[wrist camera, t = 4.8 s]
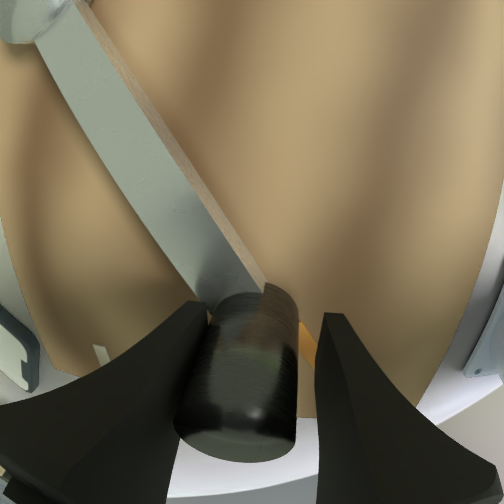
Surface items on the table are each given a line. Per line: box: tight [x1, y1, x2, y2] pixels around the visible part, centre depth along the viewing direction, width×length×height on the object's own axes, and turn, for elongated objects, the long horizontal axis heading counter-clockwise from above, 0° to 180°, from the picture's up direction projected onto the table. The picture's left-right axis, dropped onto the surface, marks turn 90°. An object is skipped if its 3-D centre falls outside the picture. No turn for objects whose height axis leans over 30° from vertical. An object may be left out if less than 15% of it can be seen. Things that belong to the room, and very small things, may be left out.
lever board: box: [0, 0, 504, 418], centre depth 11 cm, size 22×22×2 cm
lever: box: [0, 0, 299, 463], centre depth 7 cm, size 19×4×6 cm, turn 32°
